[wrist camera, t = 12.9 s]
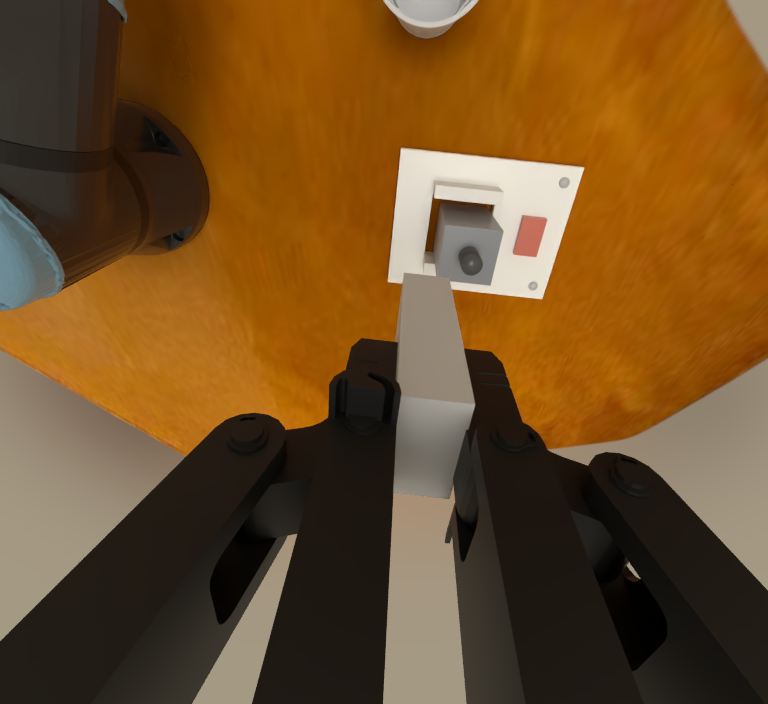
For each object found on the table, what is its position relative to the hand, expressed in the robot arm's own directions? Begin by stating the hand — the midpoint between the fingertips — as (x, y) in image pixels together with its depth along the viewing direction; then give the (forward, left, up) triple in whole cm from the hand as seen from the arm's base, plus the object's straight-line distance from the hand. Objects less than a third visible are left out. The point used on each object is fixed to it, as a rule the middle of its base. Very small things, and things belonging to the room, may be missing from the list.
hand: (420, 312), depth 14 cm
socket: (+7, -5, -33) cm, 34 cm away
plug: (+5, -5, -33) cm, 34 cm away
